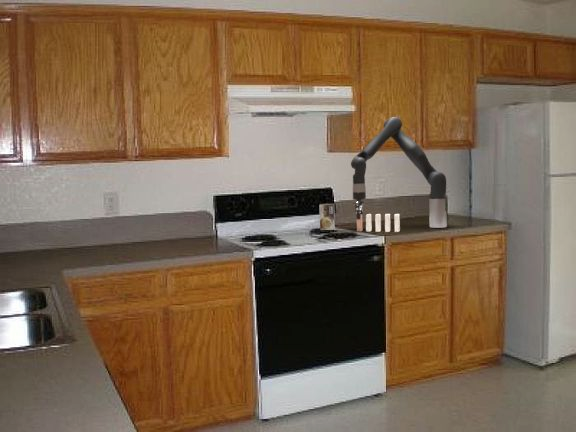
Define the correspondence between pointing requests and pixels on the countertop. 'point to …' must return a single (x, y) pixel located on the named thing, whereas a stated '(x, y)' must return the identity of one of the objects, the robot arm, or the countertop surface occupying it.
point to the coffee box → (327, 217)
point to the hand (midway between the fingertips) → (359, 218)
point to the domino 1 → (359, 224)
